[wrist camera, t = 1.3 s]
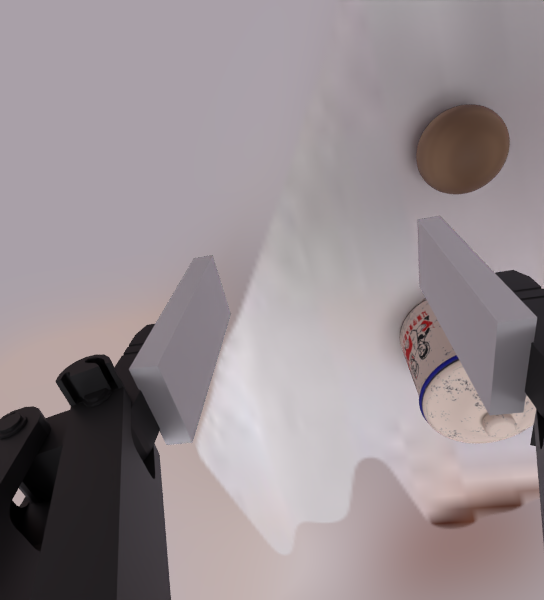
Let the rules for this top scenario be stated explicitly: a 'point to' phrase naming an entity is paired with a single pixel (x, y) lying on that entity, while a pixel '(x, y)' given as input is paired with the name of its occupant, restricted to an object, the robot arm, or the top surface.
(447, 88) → the top surface
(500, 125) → the walnut ball
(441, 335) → the teacup with lid
